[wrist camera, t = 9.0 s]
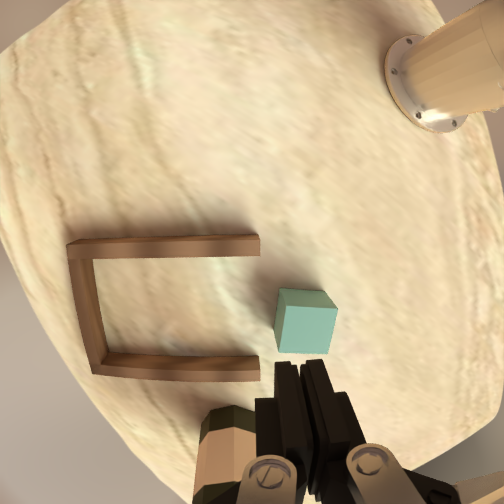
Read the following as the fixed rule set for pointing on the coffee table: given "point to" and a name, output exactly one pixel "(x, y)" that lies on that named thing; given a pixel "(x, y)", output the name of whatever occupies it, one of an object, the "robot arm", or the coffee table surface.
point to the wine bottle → (223, 451)
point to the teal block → (304, 321)
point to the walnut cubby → (153, 365)
